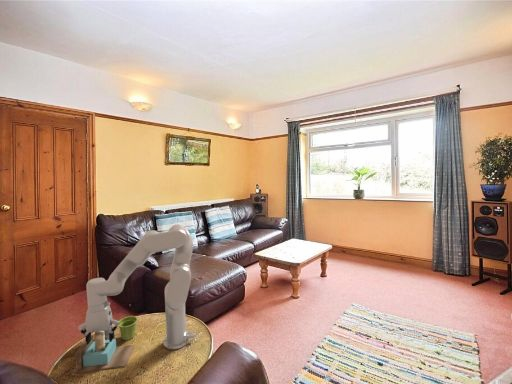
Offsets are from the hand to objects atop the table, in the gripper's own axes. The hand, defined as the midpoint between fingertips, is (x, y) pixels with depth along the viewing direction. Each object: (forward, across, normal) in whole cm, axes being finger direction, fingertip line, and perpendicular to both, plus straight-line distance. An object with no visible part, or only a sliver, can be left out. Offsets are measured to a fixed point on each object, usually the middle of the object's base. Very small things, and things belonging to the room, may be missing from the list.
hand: (100, 341), depth 119 cm
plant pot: (+9, -7, -15) cm, 19 cm away
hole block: (+9, 0, 0) cm, 9 cm away
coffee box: (+9, +4, -13) cm, 17 cm away
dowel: (+8, 0, 0) cm, 8 cm away
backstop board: (+9, -2, 0) cm, 9 cm away
